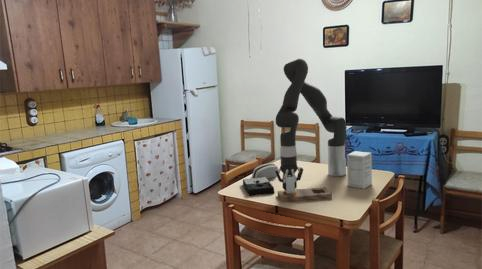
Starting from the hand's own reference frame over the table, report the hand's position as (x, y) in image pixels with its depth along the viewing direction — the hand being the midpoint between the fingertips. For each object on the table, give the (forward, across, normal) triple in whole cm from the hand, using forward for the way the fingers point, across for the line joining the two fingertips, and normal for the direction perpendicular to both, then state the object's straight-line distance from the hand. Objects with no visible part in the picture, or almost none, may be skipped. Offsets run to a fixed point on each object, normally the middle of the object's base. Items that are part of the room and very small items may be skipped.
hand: (289, 189), depth 175 cm
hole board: (+5, -7, 0) cm, 8 cm away
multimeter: (+5, +13, -18) cm, 23 cm away
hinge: (+5, +7, -34) cm, 35 cm away
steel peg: (+3, 0, 0) cm, 3 cm away
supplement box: (+5, -39, -11) cm, 41 cm away
